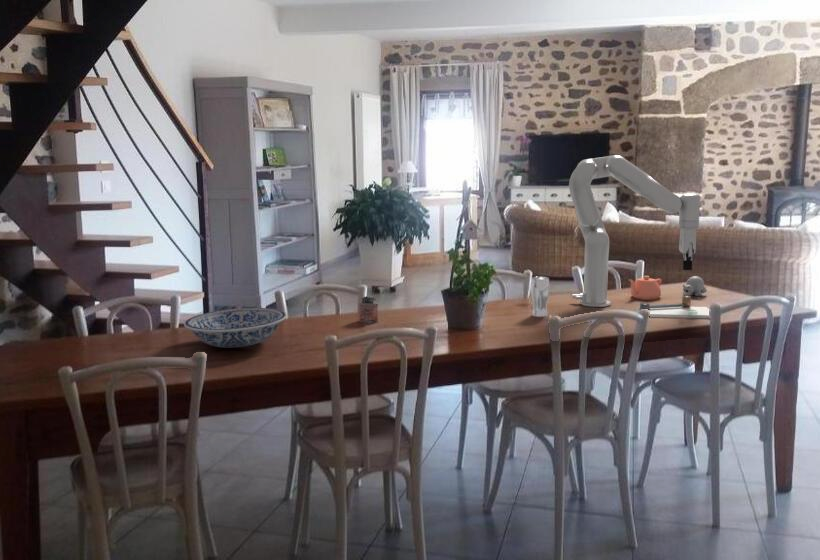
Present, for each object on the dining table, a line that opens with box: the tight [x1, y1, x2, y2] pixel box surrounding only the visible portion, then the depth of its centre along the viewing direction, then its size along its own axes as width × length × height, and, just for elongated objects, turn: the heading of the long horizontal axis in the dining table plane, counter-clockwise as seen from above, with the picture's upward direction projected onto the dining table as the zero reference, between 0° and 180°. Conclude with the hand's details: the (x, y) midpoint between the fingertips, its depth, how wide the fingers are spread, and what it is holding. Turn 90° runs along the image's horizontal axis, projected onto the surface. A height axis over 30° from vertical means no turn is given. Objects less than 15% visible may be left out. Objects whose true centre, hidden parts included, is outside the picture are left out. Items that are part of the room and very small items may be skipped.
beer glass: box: [530, 276, 550, 318], centre depth 295 cm, size 7×7×15 cm
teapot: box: [629, 275, 662, 301], centre depth 327 cm, size 12×18×10 cm
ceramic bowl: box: [183, 307, 288, 349], centre depth 259 cm, size 34×34×10 cm
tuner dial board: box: [638, 305, 710, 319], centre depth 296 cm, size 26×17×1 cm, turn 81°
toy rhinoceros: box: [682, 275, 708, 298], centre depth 328 cm, size 7×12×8 cm, turn 119°
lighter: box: [358, 295, 379, 324], centre depth 290 cm, size 8×3×10 cm, turn 62°
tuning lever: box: [639, 295, 692, 310], centre depth 300 cm, size 21×4×4 cm, turn 101°
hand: (687, 269), depth 306 cm, fingers closed
